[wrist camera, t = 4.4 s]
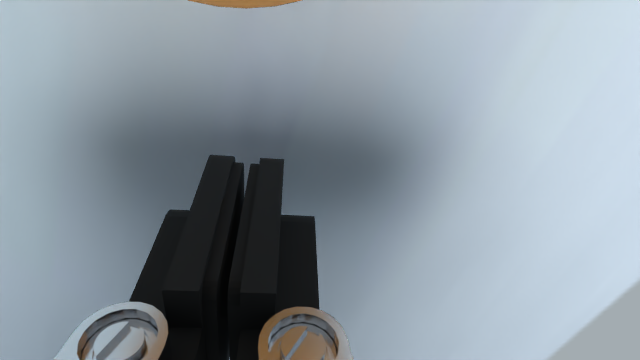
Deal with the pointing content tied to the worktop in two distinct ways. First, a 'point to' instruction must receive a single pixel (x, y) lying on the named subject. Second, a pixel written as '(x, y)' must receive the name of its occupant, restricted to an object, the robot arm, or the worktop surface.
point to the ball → (245, 3)
